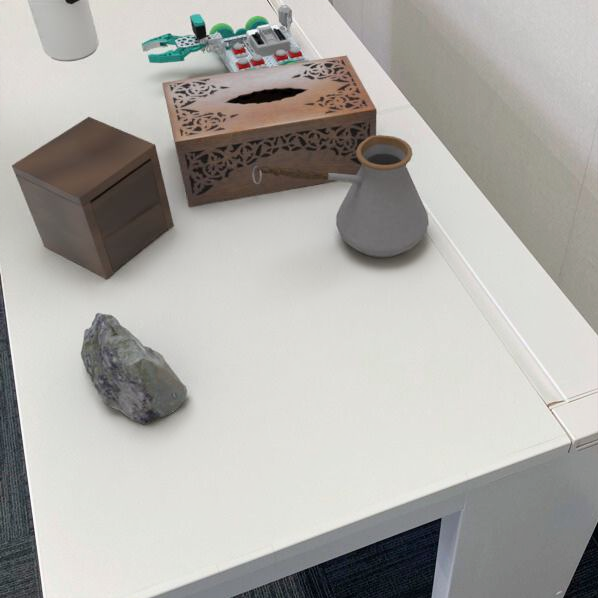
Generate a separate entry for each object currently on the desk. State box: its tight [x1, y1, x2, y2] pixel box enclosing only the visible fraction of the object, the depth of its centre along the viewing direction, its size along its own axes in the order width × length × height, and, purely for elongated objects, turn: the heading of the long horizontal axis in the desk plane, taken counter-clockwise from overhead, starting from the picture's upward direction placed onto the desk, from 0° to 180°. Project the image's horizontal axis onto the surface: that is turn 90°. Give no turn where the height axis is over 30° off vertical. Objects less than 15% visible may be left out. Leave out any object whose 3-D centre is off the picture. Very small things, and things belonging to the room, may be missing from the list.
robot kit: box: [141, 4, 310, 73], centre depth 121 cm, size 19×25×9 cm
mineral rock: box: [80, 312, 188, 425], centre depth 79 cm, size 13×11×10 cm
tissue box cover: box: [161, 54, 377, 208], centre depth 105 cm, size 26×14×10 cm, turn 106°
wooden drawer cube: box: [11, 116, 175, 280], centre depth 94 cm, size 11×12×12 cm
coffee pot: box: [252, 134, 430, 258], centre depth 91 cm, size 21×12×15 cm, turn 113°
